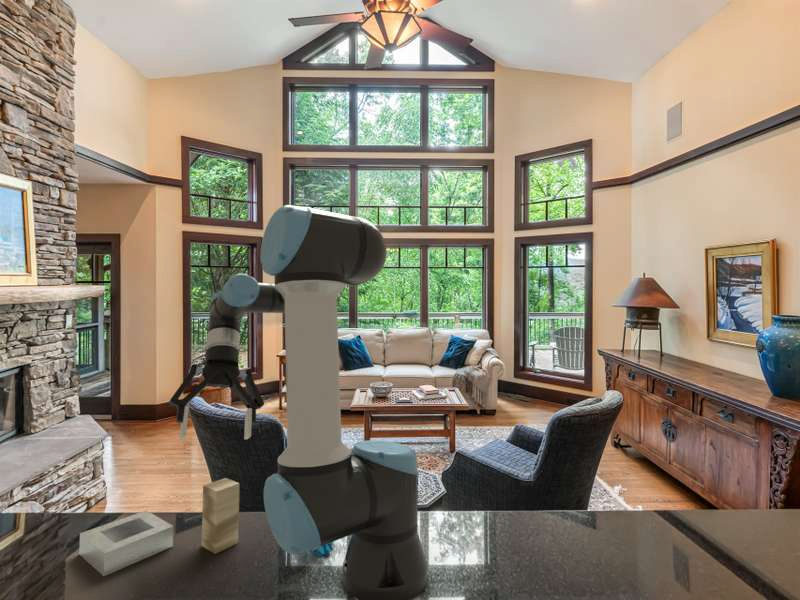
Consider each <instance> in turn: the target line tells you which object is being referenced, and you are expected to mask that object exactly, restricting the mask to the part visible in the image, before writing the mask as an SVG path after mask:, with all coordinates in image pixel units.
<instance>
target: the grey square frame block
mask: <svg viewBox="0 0 800 600" xmlns="http://www.w3.org/2000/svg"><path fill="white" fill-rule="evenodd" d="M173 547H174V525H172V524H171V523H169V522H167V521H165V520H164V519H162V518H160V517H159V516H157V515H155V514H153V513H152V512H150V511H148V510H143V511H141V512H137V513H135V514H132V515H129V516H126V517H123V518H121V519H117V520H114V521H111V522H108V523H106V524H103V525H100V526H98V527H97V526H96V527H94V528H91V529H89V530H85V531H83V532H80V533H79V551H78V552H79V553H78V555H79V556H80V557H82V558H83V559H84V560H85V561H86V562H87V563H88V564H89V565H91V566H92V567H93V568H94V569H95V570H96V571H97V572H98V573H99V574H100V575H101V576H103V577H106V576H107V575H108V576H109V575H110V574H113V573H114V572H115V573H116V572H118V571H119V570H121V569H122V570H123V569H125V568H126V567H129V566H131V565H133V564H136V563H138V562H141V561H143V560H144V559H148V558H149V557H152V556H154V555H157V554H158V553H161V552H163V551H166V550H169V549H170V548H173Z"/></svg>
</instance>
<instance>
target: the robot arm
mask: <svg viewBox="0 0 800 600" xmlns="http://www.w3.org/2000/svg"><path fill="white" fill-rule="evenodd" d="M384 238H385V237H384V236H383V234H382V233H381V231H380V230H379V229H378V227H376V225H374V224H373V223H372V222H371V221H369V220H367V219H365V218H362V217H358V216H355V215H348V214H342V213H336V212H332V211H327V210H321V209H317V208H312V207H310V206H307V205H306V206H299V205H291V204H285V205H282V206H281V207H279V208H277V210H275V212H274V213H273V214H272V215H271V217H270V218H269V220H268V223H267V225H266V227H265V230H264V232H263V236H262V242H261V247H260V264H261V269H262V270H263V272H264V273H266V274H268V275H269V276H270V277H273V276H274V283H270V282H269V283H267V282H258V280H257V279H255V277H253V276H250V275H248V274H245V273H237V274H233V275H232V276H230V278H229V279H227V281H226V283H225V284H224V285H223V286H222V288H221V291H218V292H217V293H214V294H213V295H212V296H211V300H210V304H209V309H208V310H209V315H208V316H209V318H208V328H207V337H206V351H205V358H204V366H203V367H202V366H198V365H197V364H196V363H193V364H192V365H191V366H190V367H189V370H188V374H187V376H186V377H185V379H184V380H183V382H182V383H181V384H180V386H178V388H177V390H176V391H175V392H174V394H173V395H172V396H171V397H170V399H169V401H168V405H169V406H171V407H172V406H174V407H175V408H176V417H175V418H176V419H175V422H176V424H180V430H179V439H178V440H181V441H183V440H184V439H185V438H186V437H187V429H188V428H187V427H188V420H189V410H190V406H189V405H188V404H189V403H190V402H191V401H192V400H193V399H195V397H197V395H199V394H200V393H201V392H202V391H203V390H204V389H206V388H207V387H208V386H210V387H211V388H222V389H226V388H229V389H230V390H231V391H233V392H234V394H235V395H236V396H237V397H238V399H239V400H240V401H241V403H242V404H243V405H244V406H245V407H246V410H245V412H244V431H243V432H244V434H243V440H248V439H250V438H251V437H252V425H254V424H255V423H256V421H257V420H256V419H257V410H259V409H261V408H263V406H264V405H265V402H264V399H263V398H262V396H261V393H260V391H259V389H258V387H257V385H256V383H255V381H254V378H253V375H252V369H250V368H248V369H246V370H240V369H239V358H240V351H239V350H240V339H241V338H240V336H241V335H240V334H241V323H242V319H243V318H244V317H245V315H246V313H247V314H248V313H253V314H254V313H255V314H256V313H258V314H261V313H262V314H267V313H268V314H269V313H272V314H274V313H275V314H284V335H285V337H284V340H285V341H284V342H285V343H284V346H285V384H286V385H285V389H286V390H285V391H286V392H285V393H286V397H285V399H286V438H287V440H286V442H287V444H286V445H287V446H286V448H285V450H283V452H282V453H281V454H280V455H279V456H278V457H277V472H276V473H273V474H272V475H270V476H268V477H267V478H266V480H265V481H264V487H263V505H264V506H263V507H264V510H265V514H266V519H267V522H268V525H269V529H270V531H271V532H272V535H273V537H274V539H275V541H276V542H277V544H278V545H279V547H280V548H281V549H282V550H283V551H284V552H287V554H291V555H298V554H299V555H300V554H303V553H306V552H309V550H312V549H313V550H314V551H315V550H316V551H317V550H318V549H319V548H320V547H321V546H322V547H323V546H324V545H326V544H329V543H331V542H335V541H338V540H340V539H341V540H342V539H343V538H346V537H348V536H350V541H349V544H348V547H347V550H346V553H345V556H344V559H343V562H342V570H341V571H342V572H341V573H342V576H341V577H342V578H341V579H342V580H341V581H342V585H343V588H344V589H345V591H346V592H347V593H348V594H349V595H350V596H352V597H353V598H355V599H356V600H411V599H413V598H415V597H416V596H418V595H419V594H420V593H422V592H423V590H424V589H425V588H426V585H427V583H428V578H429V577H428V570H429V569H428V567H429V566H428V561H427V558H426V556H425V554H424V550H423V545H422V542H421V538H420V536H419V532H418V531H419V530H418V529H419V528H418V526H419V525H418V512H419V511H418V510H419V509H418V507H419V505H418V504H419V502H418V501H419V500H418V499H419V497H418V496H419V495H418V494H419V492H418V491H419V474H420V473H419V470H418V459H417V454H416V452H415V451H414V449H412V448H411V447H409V446H408V445H404V444H401V443H398V442H394V441H387V440H377V439H376V440H361V441H357V442H356V443H355V444H354V445H353V448H352V449H350V448H349V447H348V446H347V445H345V443H344V442H343V441H342V418H341V416H342V413H341V391H340V390H341V387H340V386H341V385H340V357H339V328H338V325H339V324H338V323H339V322H338V299H337V297H338V295H340V293H341V292H342V291H343V290H344V289H345V288H346V286H350V287H357V286H360V285H363V284H365V283H367V282H369V281H370V280H371V281H372V279H374V278H375V277H376V276H377V275H378V274H379V273H380V272H382V270H383V268H384V266H385V264H386V260H387V252H388V251H387V245H386V242H385V241H386V240H385V239H384ZM200 373H201V375H202V376H203V379H204V380H202V381H201V382H200V384H198V385H197V386H196V387H194V388H193V389H192V390H191V391H190V392H189V393H188V394H187V395H186V396H185V397H183V398H182V399H179V398H180V397H181V396H182V394H183V393H184V391H185V390H186V389H187V387H188V386H189V384H190V383H191V382H192V380H193V378H195V377H197V376H199V374H200ZM239 377H240V378H241V380H243V381H244V385H245V387H246V389H247V390H248V391H246V390H245V388H244V387H243V386H242V384H241V382H240V381H239V380H238V378H239ZM248 393H249V394H248Z"/></svg>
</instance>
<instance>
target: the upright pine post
mask: <svg viewBox="0 0 800 600" xmlns="http://www.w3.org/2000/svg"><path fill="white" fill-rule="evenodd" d="M201 512H202V513H201V515H202V516H201V519H202V521H201V547H202V548H204V549H206V550H207V551H209V552H211V553H212V554H214V555H216V554H218V553H220V552H222V551H224V550H227V549H229V548H231V547H232V546H235V545H237V544H238V543H239V532H240V531H239V525H240V524H239V522H240V521H239V520H240V517H239V516H240V483H239V482H237V481H235V480H233V479H229V478H227V477H224V478H222V479H219V480H216V481H212V482H209V483H207V484H204V485H202V511H201Z"/></svg>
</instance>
